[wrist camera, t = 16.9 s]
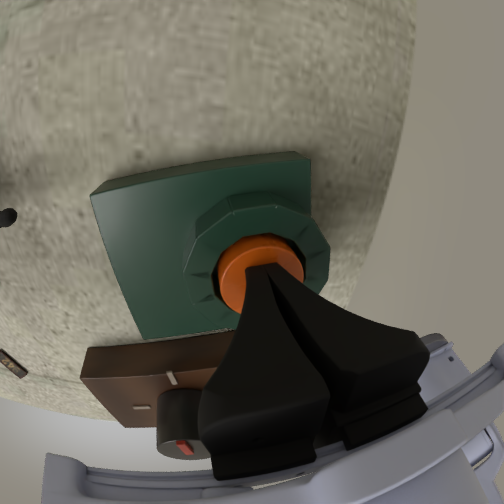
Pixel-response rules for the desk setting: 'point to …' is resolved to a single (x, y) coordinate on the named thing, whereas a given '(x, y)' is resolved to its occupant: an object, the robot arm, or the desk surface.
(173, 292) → the button block
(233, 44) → the desk surface
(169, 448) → the knob
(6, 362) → the key tag
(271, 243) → the button
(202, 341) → the lock panel
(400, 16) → the desk surface
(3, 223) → the walkie-talkie
